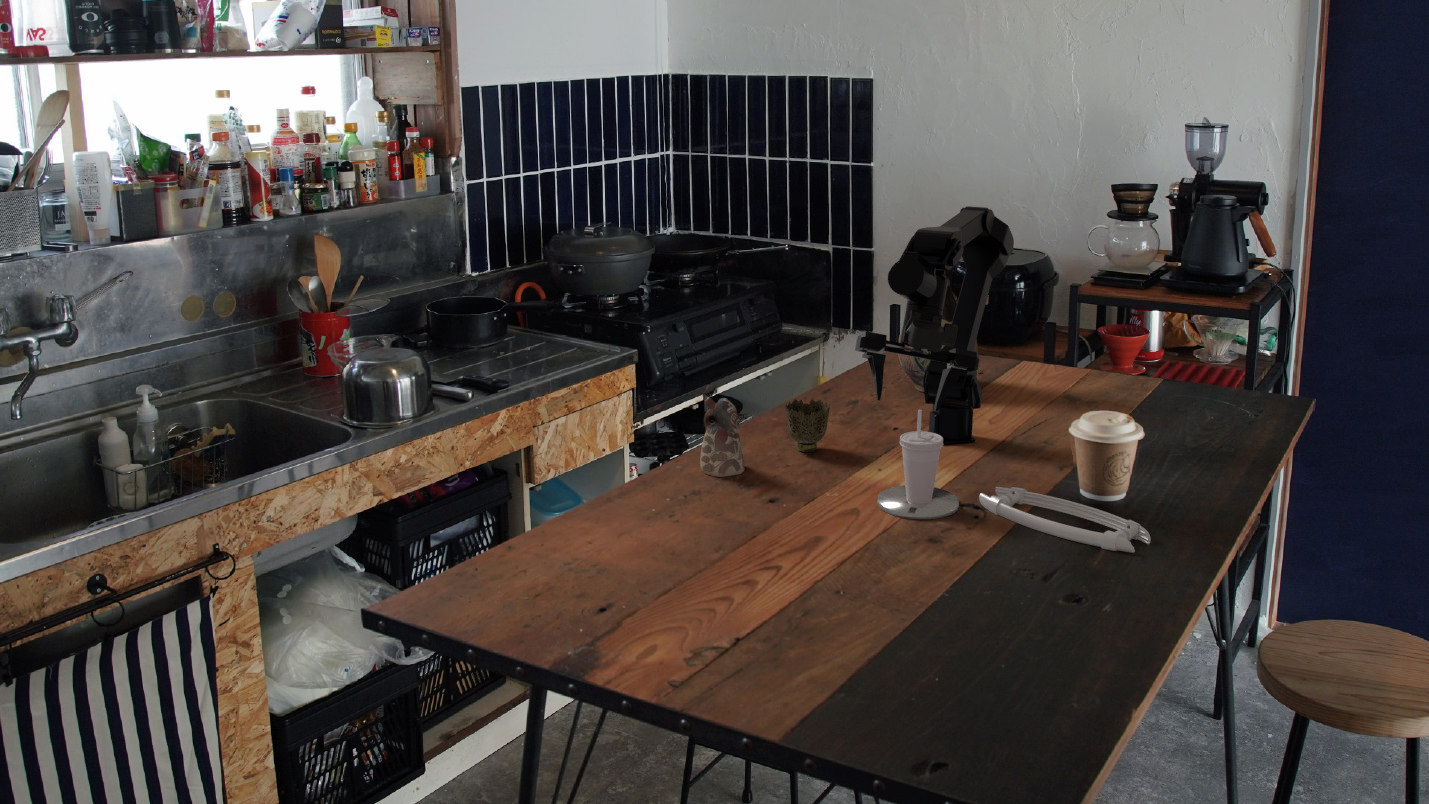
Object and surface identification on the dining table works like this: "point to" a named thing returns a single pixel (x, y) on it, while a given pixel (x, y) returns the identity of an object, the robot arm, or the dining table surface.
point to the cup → (807, 423)
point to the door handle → (1104, 540)
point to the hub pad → (899, 506)
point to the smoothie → (920, 462)
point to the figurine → (721, 440)
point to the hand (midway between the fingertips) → (907, 405)
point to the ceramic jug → (918, 365)
